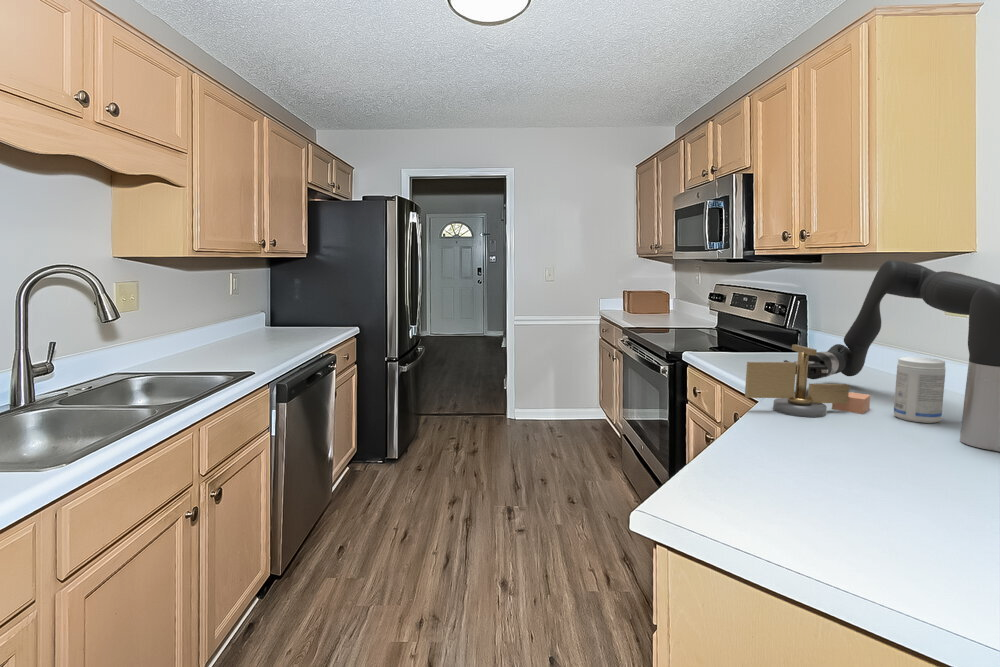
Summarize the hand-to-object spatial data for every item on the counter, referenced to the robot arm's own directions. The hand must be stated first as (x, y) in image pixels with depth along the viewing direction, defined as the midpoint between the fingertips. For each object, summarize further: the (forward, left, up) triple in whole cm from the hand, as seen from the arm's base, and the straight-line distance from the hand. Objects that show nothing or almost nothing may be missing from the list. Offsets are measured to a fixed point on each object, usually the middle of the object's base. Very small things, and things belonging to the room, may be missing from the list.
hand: (789, 370), depth 159 cm
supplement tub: (-24, -16, -8) cm, 30 cm away
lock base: (-11, +7, -8) cm, 15 cm away
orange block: (-12, -9, -8) cm, 17 cm away
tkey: (-11, +8, -6) cm, 14 cm away
